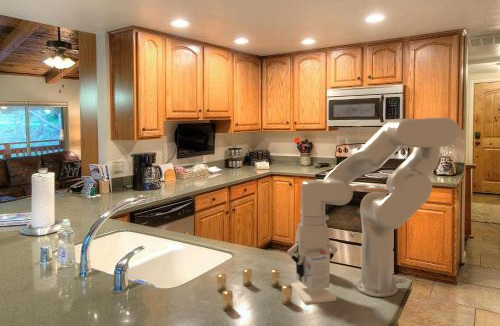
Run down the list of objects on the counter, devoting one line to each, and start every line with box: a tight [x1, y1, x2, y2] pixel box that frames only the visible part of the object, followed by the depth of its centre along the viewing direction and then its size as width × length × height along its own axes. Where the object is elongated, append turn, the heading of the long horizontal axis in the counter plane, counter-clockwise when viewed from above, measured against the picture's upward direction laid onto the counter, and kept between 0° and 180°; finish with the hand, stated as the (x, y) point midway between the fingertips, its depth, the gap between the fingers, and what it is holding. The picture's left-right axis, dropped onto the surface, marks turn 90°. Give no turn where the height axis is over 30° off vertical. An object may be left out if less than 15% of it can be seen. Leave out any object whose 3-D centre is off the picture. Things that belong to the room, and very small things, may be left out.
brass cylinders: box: [216, 268, 293, 312], centre depth 128 cm, size 21×19×5 cm
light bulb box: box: [295, 251, 331, 290], centre depth 128 cm, size 11×7×11 cm, turn 21°
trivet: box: [290, 281, 337, 305], centre depth 129 cm, size 10×14×1 cm
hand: (312, 274), depth 128 cm, fingers closed on light bulb box, 7 cm apart
